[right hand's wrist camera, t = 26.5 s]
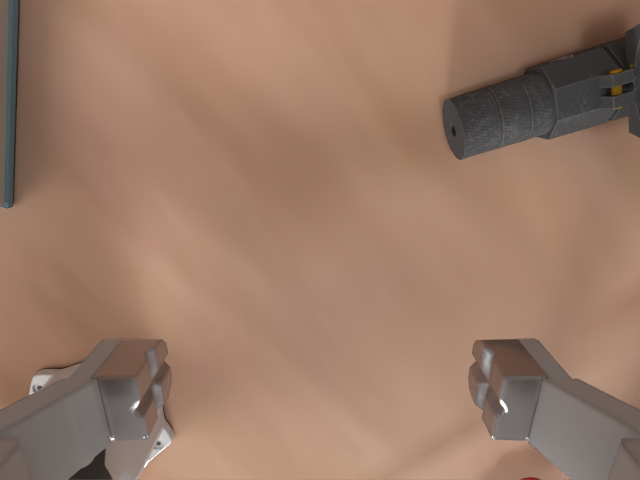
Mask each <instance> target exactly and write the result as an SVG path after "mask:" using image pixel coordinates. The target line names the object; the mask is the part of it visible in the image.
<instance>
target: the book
mask: <svg viewBox="0 0 640 480" xmlns="http://www.w3.org/2000/svg"><path fill="white" fill-rule="evenodd" d="M18 3H19V0H0V207H4V208H10V207H13V174H14V139H15V105H16V71H17V37H18Z"/></svg>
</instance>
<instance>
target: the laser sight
mask: <svg viewBox="0 0 640 480" xmlns="http://www.w3.org/2000/svg"><path fill="white" fill-rule="evenodd" d="M626 116H629V132H630V133H632V134H633V135H635V136H637V137H639V138H640V24H639V25H637V26H635V27H634V28H632V29H630V30H629V31H627V32H626V37H624V38H621V39H617V40H614V41H611V42H608V43H605V44H602V45H599V46H595V47H592V48H589V49H586V50H583V51H580V52H577V53H574V54H570V55H567V56H564V57H561V58H558V59H555V60H552V61H548V62H545V63H542V64H539V65H536V66H533V67H530V68H526V71H525V74H524V75H522V76H519V77H516V78H512V79H509V80H506V81H503V82H500V83H497V84H494V85H490V86H487V87H484V88H480V89H477V90H475V91H472V92H468V93H465V94H462V95H459V96H456V97H453V98H449V99H446V100H445V101H444V103H443V122H444V128H445V133H446V136H447V140H448V143H449V145H450V148H451V150H452V152H453V154H454V155H455V157H456V158H457V159H459V160H462V159H465V158H467V157H471V156H474V155H477V154H480V153H484V152H487V151H491V150H495V149H498V148H501V147H504V146H507V145H511V144H514V143H518V142H521V141H525V140H527V139H530V138H534V137H539V138H544V139H548V140H549V139H553V138H556V137H559V136H563V135H566V134H569V133H573V132H576V131H579V130H583V129H586V128H589V127H593V126H596V125H600V124H603V123H606V122H607V121H613V120H616V119H620V118H623V117H626Z"/></svg>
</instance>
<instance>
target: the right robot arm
mask: <svg viewBox="0 0 640 480" xmlns="http://www.w3.org/2000/svg"><path fill="white" fill-rule="evenodd" d="M167 354H168V351H167V346H166V342H165V341H164V340H163V339H104V340H102V341H101V342H100V343H99V344H98V345H97V346H96V347H95V349H94V350H93V351H92V352H91V353H90V354H89V355H88V357H87V358H86V359H85V360H84V361H83V362H82V363H79V364H76V365H73V366H70V367H67V368H64V369H42V370H39V371H38V372H37V373H36V374H35V375H34V377H33V378H32V381H31V386H30V391H29V396H27V397H25V398H23V399H21V400H19V401H17V402H15V403H13V404H11V405H9V406H7V407H5V408H3V409H1V410H0V480H138V478H139V477H140V475H141V473H142V471H143V469H144V467H145V466H146V465H147V463H148V462H149V461H150V460H151V459H153V458H154V457H155V456H156V455H157V454H159V453H160V452H161V451H162V450H163V449H164V448H166V447H167V446H168V445H169V444H170V443H171V441H172V439H173V438H174V432H173V430H172V428H171V427H170V425H169V424H168V423H167V421H166V420H165V417H164V412H163V405H165V403H166V401H167V399H168V397H169V393H170V388H171V369H170V367H169V366H168V365H167V364H166V363H165V362H164V360H165V358H166V356H167ZM472 354H473V356H474V358H475V360H476V362H475V363H474V364H473V365H472V366H471V367H470V369H469V377H468V380H469V390H470V393H471V397H472V399H473V401H474V403H475V405H477V406H478V407H479V408H481V409H482V410H483V414H482V419H483V421H484V423H485V425H486V427H487V429H488V431H489V433H490V435H491V437H492V439H493V440H524V441H528V443H530V444H531V445H532V446H533V447H534V448H535V449H537V450H538V451H539V452H540V453H541V454H542V455H544V456H545V457H546V458H547V459H548V460H550V461H551V462H552V463H553V464H554V465H555V466H557V467H558V468H559V469H560V470H561V471H563V472H564V473H565V474H566V475H567V476H568V477H570V478H571V479H572V480H640V410H639V409H637V408H635V407H633V406H631V405H629V404H627V403H625V402H623V401H621V400H619V399H617V398H615V397H613V396H611V395H609V394H607V393H605V392H603V391H601V390H599V389H597V388H595V387H593V386H591V385H589V384H587V383H585V382H583V381H581V380H580V379H572V378H571V377H570V376H569V375H568V374H567V373H566V372H565V370H564V369H563V368H562V367H561V366H560V365H559V364H558V362H557V361H556V360H555V359H554V358H553V357H552V356H551V354H550V353H549V352H548V351H547V350H546V349H545V348H544V346H543V345H542V344H541V343H540V342H539V341H538V340H536V339H534V338H528V339H505V340H476V341H475V343H474V345H473V350H472Z"/></svg>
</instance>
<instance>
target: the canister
mask: <svg viewBox="0 0 640 480" xmlns="http://www.w3.org/2000/svg"><path fill="white" fill-rule="evenodd" d="M521 480H540V479H538V478H533V477H529V478H523V479H521Z"/></svg>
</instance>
